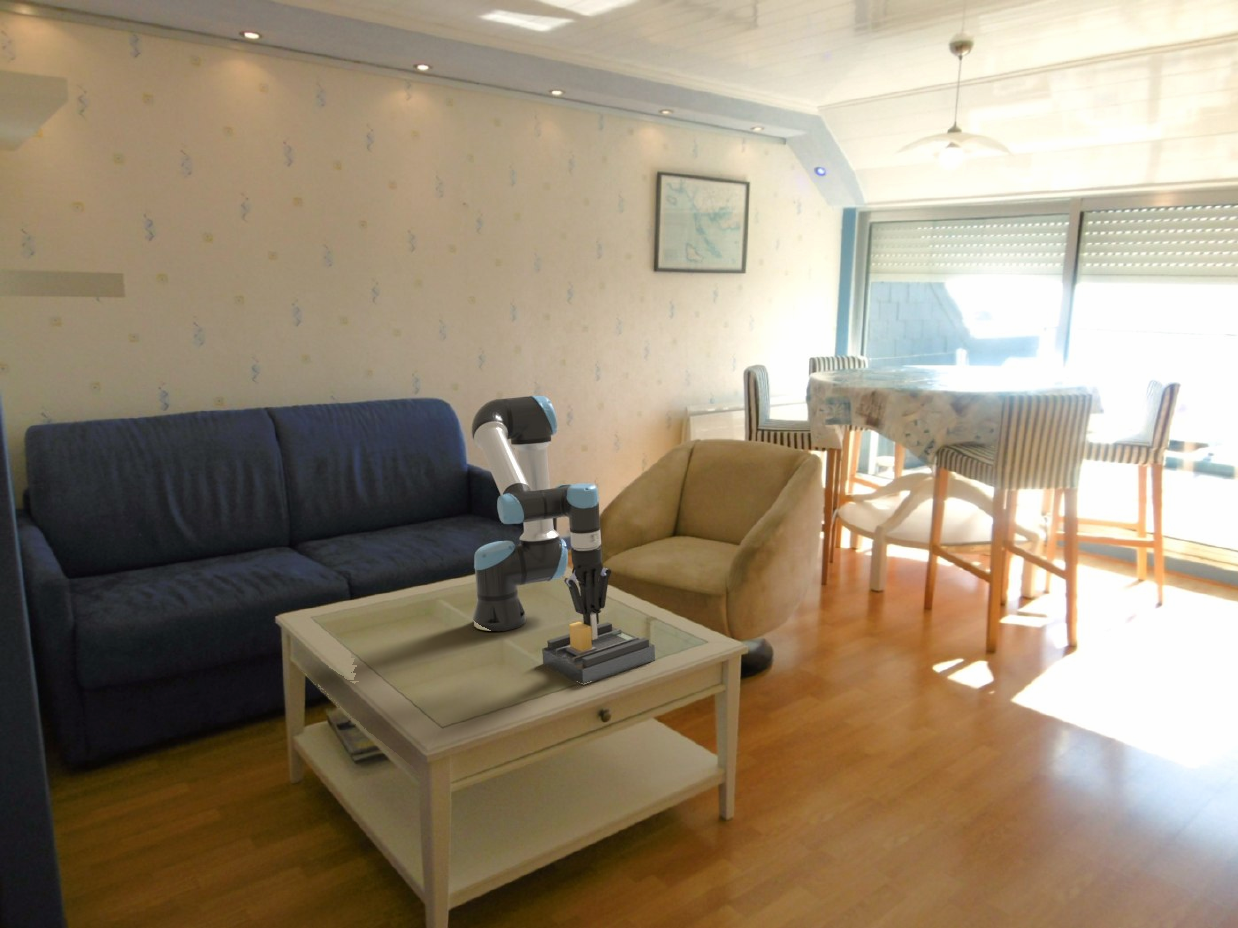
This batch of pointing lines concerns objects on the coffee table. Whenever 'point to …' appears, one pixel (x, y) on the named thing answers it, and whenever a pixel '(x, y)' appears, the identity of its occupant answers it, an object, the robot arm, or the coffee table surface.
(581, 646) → the handle
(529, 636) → the coffee table surface
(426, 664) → the coffee table surface
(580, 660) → the grey rail base
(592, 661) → the pair of guide rails
